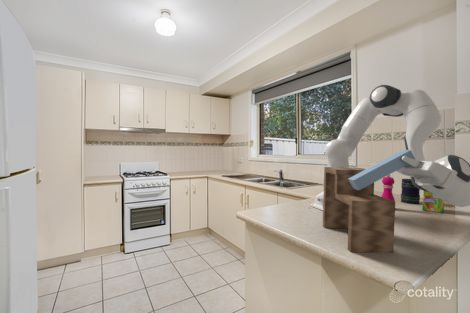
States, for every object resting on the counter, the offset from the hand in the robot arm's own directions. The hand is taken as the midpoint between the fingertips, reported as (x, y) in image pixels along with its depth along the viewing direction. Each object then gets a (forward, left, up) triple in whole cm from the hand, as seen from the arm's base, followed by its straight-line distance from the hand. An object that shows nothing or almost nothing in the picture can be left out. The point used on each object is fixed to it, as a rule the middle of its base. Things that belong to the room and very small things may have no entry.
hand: (396, 157), depth 81 cm
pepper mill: (-30, +52, -32) cm, 68 cm away
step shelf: (-11, -7, -31) cm, 34 cm away
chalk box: (-16, +72, -32) cm, 81 cm away
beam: (-2, -4, -6) cm, 8 cm away
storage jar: (-32, +82, -32) cm, 94 cm away
